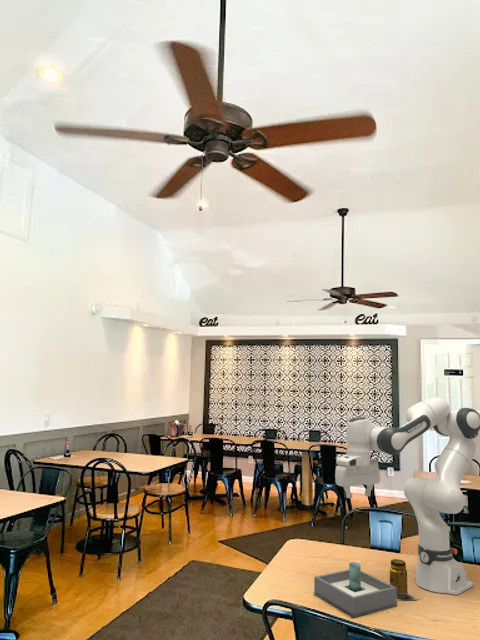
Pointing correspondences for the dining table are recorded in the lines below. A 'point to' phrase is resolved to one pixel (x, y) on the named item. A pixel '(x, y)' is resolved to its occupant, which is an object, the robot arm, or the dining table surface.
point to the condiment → (400, 579)
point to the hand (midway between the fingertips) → (358, 496)
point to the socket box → (355, 593)
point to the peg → (354, 577)
